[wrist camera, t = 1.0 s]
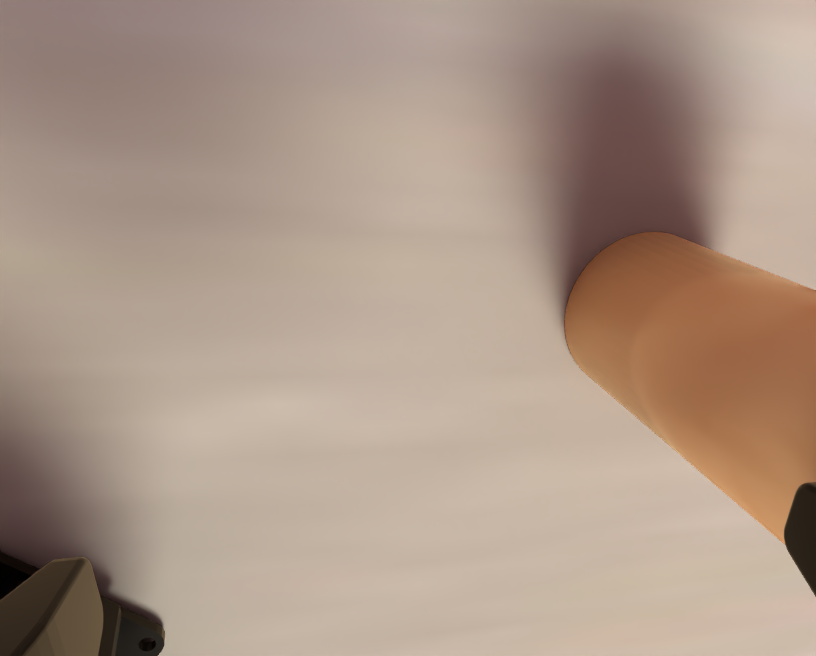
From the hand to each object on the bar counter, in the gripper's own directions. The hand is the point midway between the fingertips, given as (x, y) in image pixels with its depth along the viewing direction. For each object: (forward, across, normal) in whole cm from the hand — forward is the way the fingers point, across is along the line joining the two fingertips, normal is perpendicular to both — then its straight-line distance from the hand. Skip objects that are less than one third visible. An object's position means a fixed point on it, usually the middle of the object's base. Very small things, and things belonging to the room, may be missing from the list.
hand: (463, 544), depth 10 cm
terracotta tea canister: (+13, +9, -4) cm, 16 cm away
